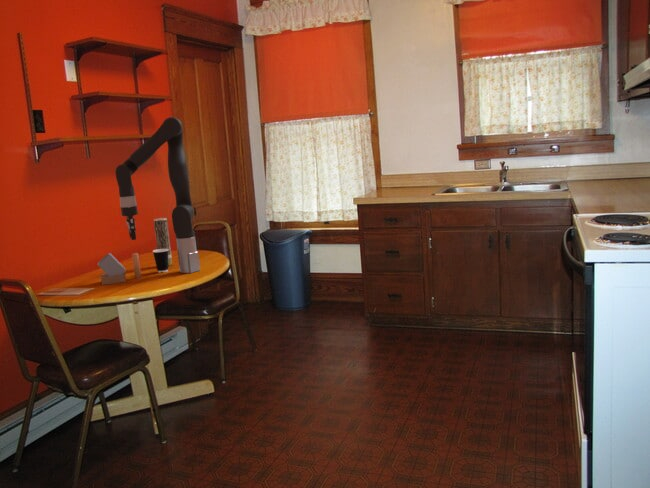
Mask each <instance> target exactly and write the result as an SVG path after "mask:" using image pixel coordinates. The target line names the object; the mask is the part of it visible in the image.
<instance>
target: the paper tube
mask: <svg viewBox="0 0 650 488" xmlns="http://www.w3.org/2000/svg"><path fill="white" fill-rule="evenodd" d="M153 227H154V228H153V229H154V236H155V241H156V250H157V249H169V250H168V267H170V266H172V265H173V259H172V258H173V257H172V249H171V241H170V233H169V223H168V219H167V217H160V218H153Z"/></svg>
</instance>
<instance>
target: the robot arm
mask: <svg viewBox="0 0 650 488" xmlns="http://www.w3.org/2000/svg"><path fill="white" fill-rule="evenodd" d="M183 133H184V126H183V123H182V121H181V120H180V119H178V118H177V117H173V116H170V117H168V118H165V119H164V120H163V122H162V124H161V125H160V126H159V128H158V129H157V130H156V131H155V133H153V134H152V135H151V136H150V137H149V138H148V139H147V140H146V141H145V142H143V143H142V144H141V145H140V146H139V147H138V148H137V149H136V150H135V151H133V152H132V153H131V154H130V155H129V157H128V158H127V159H126V160H125V161H124V162H122V163H121V164H119V165H118V166H117V167H116V168H115V172H114V173H115V178H116V182H117V186H118V194H119V205H120V212H121V216H122V217H126V219H125V222H126V227H127V230H128V235H129V238H130V239H131V241H135V240H137V236H136V235H137V234H136V231H137V228H136V227H137V226H136V219H135V218H134V216H137V215H138V205H137V199H136V194H135V193H136V192H135V187H134V185H133V182H132V176H133V175H134V174H135V173H136V172H137V171H138V170H139V168H141V167H142V166H144V164H145V163H146V162H147V161H148V160H149V159H151V158H152V157H153V156H154V154H155V153H156V152H157V151H158V150H159V149H160V148H161V147H162V146H163V145H164V144H165V143H167V171H168V176H169V177H168V178H169V182H170V185H171V186H172V190H173V192H174V194H175V195H174V196H175V205H176V206H175V207H174V208H173V210H172V211H171V212H172V213H171V220H172V227H173V233H174V235H175V242H176V250H177V259H178V266H179V267H178V268H179V272H180V274H192V273H194V272H195V273H196V272H198V271H200V270H201V267H200V258H199V252H198V251H197V243H196V235H195V230H194V229H193V224H192V220H193V218H194V217H195V216H194V215H195V211H194V207H193V202H192V198H191V192H190V191H191V190H190V179H189V170H188V169H189V168H188V161H187V156H186V153H185V148H184V139H183V138H184V137H183V136H184V135H183Z"/></svg>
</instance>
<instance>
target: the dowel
mask: <svg viewBox="0 0 650 488" xmlns="http://www.w3.org/2000/svg"><path fill="white" fill-rule="evenodd" d="M131 258H132V265H133V272H134V279H135V280H136V279H137V280H138V278H139V279H142V273H141V272H142V271H141V265H140V264H141V263H140V257H139V253H137V252H135V253H131Z"/></svg>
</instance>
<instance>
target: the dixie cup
mask: <svg viewBox="0 0 650 488" xmlns="http://www.w3.org/2000/svg"><path fill="white" fill-rule="evenodd" d="M168 250H169V249H157V248H156V249H153V250H152V253H153V258H154V261H155V262H154V263H155V266H156V271H157V273H158V274H160V273H161V272H163V273H167V272H168V271H169V266H168Z"/></svg>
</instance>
